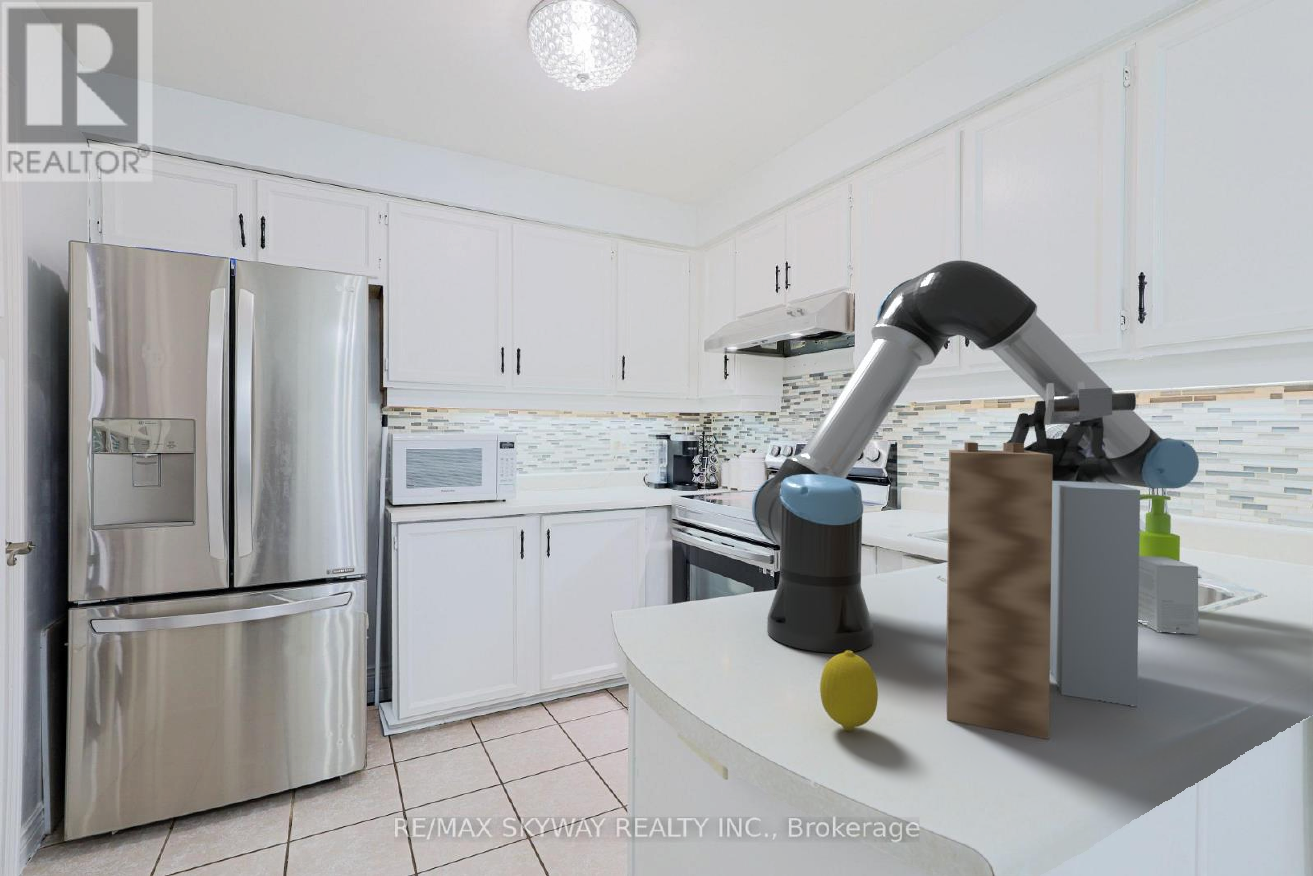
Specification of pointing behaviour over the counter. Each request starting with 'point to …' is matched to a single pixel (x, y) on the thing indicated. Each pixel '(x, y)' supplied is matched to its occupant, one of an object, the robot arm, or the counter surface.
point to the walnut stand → (999, 588)
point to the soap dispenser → (1158, 531)
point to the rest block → (1095, 590)
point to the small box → (1168, 595)
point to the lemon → (849, 690)
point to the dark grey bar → (1089, 405)
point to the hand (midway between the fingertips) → (1066, 390)
